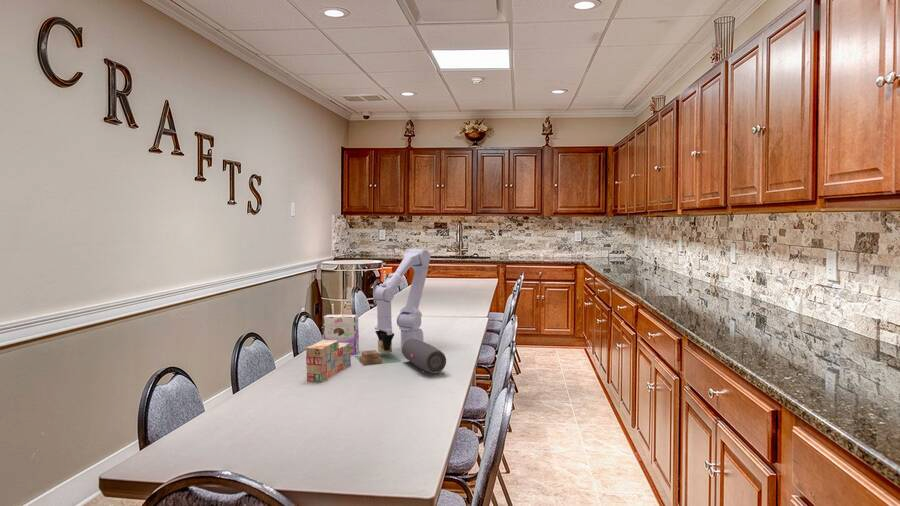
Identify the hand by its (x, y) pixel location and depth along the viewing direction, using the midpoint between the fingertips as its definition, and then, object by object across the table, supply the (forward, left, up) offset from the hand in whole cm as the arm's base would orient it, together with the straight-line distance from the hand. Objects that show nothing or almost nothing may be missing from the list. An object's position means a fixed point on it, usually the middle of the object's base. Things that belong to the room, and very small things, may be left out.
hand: (385, 348), depth 225 cm
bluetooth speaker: (-8, +23, -4) cm, 25 cm away
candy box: (+15, -13, -4) cm, 20 cm away
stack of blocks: (+26, +14, -4) cm, 29 cm away
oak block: (0, 0, -1) cm, 1 cm away
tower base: (+8, +7, -3) cm, 11 cm away
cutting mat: (+4, +3, -3) cm, 6 cm away
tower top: (+8, +7, -1) cm, 11 cm away
